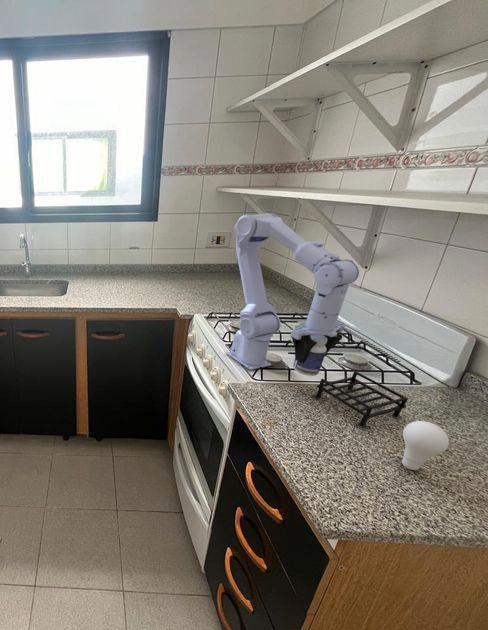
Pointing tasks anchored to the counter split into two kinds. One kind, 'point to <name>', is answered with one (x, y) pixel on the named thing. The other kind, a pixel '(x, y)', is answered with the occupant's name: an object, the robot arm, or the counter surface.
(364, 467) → the counter surface
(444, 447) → the lightbulb
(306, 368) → the pill bottle
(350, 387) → the wire rack
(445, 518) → the counter surface
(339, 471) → the counter surface
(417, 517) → the counter surface
